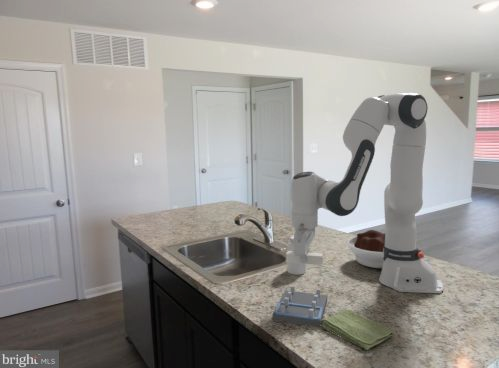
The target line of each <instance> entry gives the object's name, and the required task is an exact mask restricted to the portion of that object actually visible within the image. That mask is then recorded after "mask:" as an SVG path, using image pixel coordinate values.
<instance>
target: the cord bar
mask: <svg viewBox="0 0 499 368" xmlns="http://www.w3.org/2000/svg"><path fill="white" fill-rule="evenodd" d="M306 258H307V259H306V260H307V261H306V263H305V264H306V265H317V266H323V264H324V253H320V252H310V251H309V252H307V253H306ZM285 262H286V263H287V262H290V263H301V262H300V256H295V255H294V251H288V252H287V251H286V253H285ZM302 264H304V263H302Z"/></svg>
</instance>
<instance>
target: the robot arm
mask: <svg viewBox="0 0 499 368" xmlns="http://www.w3.org/2000/svg"><path fill="white" fill-rule="evenodd" d="M428 109H429V108H428V103H427V101H426V98H425V97H424V96H423V95H422V94H419V93H415V92H409V93H406V92H403V93H402V92H398V93H397V92H396V93H392V94H386V95H383V94H382V95H379V96H376V97H375V96H371V97H367V98H365V99H364V100H363V101H362V102H361V103H360V104H359V105H358V107H357V108H356V110H355V111H354V113H353V115H352V116H351V117H350V119H349V121H348V123H347V125H346V127H345V129H344V130H343V135H342V140H343V141H342V142H343V144H344V145H345V147H346V148H347V150H349V151H350V154H351V159H350V162H349V164H348V166H347V169H346V171H345V174H344V176H343V177H342V179H341V180H340V181H339V182H336V181H334V180H329V179H326V178H324V177H321V176H320V175H318V174H316V172H314V171H303V172H299V173H296V174H295V175H294V176H293V177H292V178H291V185H290V186H291V187H290V202H291V209H290V226H291V228H294V234H293V236H294V255H295V256H300V262H301V263H304V264H305V263H306V261H307V260H306V259H307V258H306V253H307V252H309V253H310V247H311V246H312V243H313V241H314V240H315V235H316V228H317V227H318V226H319V224H318V223H319V222H318V221H319V213H318V211H319V209H324V210H326V211H329V212H330V213H333V214H334V215H336V216H339V217H345V216H348V215H351V214H352V213H353V212H354V211H355V210H356V209H357V207H358V203H359V200H360V195H361V190H362V187H363V184H364V182H365V180H366V177H367V174H368V172H369V170H370V167H371V165H372V162H373V159H374V156H375V152H376V147H375V146H376V143H377V140H378V138H379V136H380V134H381V132H382V131H383V128H384V126H392V127H393V128H394V130H395V131H394V136H393V141H392V149H391V156H390V168H389V169H390V182H389V183H388V184H387V185H386V187H385V188H384V191H383V192H384V194H383V199H384V200H383V202H384V203H383V204H384V205H383V206H384V225H385V227H384V228H385V230H384V233H385V245H384V247H383V260H384V261H383V267H382V268H381V272H380V275H379V278H378V282H380V283H381V284H382V285H383V286H386V287H388V288H391V289H393V290H394V291H396V292H399V293H417V294H418V293H423V294H425V293H426V294H441V293H443V292H442V291H444V284H443V282H442V281H441V280H440V279H438V278H437V277H438V276H437V273H436V270H435V269H434V267H433V266H432V265H431V264H430V263H429V262H427V261H426V260H424V257H425V254H424V253H423V251H422V250H421V249H420V248H419V247H417V230H418V229H417V228H418V227H417V224H416V223H417V222H416V221H417V220H416V214H417V213H419V212H420V210H422V207H423V203H424V201H423V189H424V188H423V183H424V182H423V168H424V166H423V165H424V159H425V152H426V144H427V122H426V120H425V119H426V117H427V114H428Z"/></svg>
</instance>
